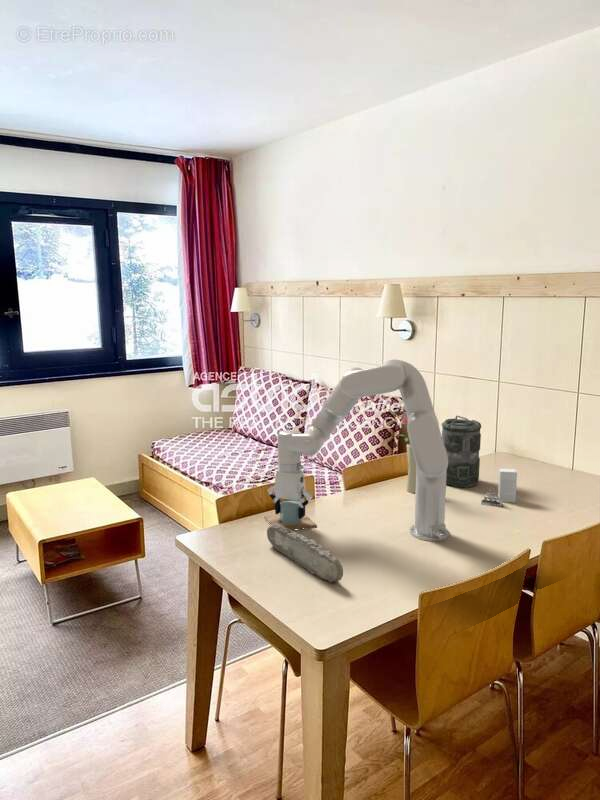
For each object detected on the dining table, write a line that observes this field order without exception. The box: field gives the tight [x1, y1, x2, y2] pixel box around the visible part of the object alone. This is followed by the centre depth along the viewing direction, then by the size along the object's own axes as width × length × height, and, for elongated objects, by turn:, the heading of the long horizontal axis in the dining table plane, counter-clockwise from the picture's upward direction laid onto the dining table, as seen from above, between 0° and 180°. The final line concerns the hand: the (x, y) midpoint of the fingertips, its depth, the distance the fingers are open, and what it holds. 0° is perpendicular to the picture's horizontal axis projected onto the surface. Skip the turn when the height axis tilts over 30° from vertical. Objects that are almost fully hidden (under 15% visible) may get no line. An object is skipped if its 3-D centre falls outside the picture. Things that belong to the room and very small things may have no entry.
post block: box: [263, 513, 318, 531], centre depth 200 cm, size 14×14×6 cm
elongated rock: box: [266, 525, 344, 584], centre depth 169 cm, size 35×5×10 cm, turn 38°
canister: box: [441, 414, 482, 489], centre depth 241 cm, size 16×16×28 cm
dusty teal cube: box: [279, 500, 300, 525], centre depth 200 cm, size 6×6×6 cm
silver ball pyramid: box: [480, 485, 503, 508], centre depth 219 cm, size 9×9×8 cm
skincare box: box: [497, 468, 518, 503], centre depth 221 cm, size 6×4×12 cm
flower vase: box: [393, 405, 416, 494], centre depth 228 cm, size 12×12×35 cm
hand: (289, 515), depth 200 cm, fingers closed on dusty teal cube, 8 cm apart
